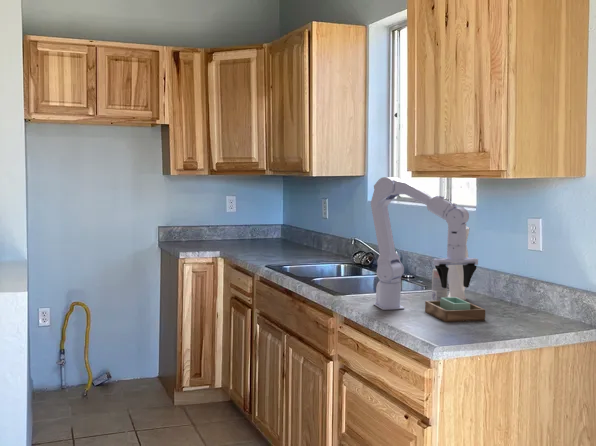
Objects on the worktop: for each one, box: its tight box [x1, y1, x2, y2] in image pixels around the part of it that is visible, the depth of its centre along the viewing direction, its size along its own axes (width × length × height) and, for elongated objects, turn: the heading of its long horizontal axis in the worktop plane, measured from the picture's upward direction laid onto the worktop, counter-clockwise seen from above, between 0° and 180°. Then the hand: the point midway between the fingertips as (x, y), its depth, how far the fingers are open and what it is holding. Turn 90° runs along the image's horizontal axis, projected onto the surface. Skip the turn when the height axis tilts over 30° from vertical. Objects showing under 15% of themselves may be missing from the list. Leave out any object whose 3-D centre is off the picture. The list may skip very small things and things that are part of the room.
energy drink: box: [430, 267, 449, 301], centre depth 241 cm, size 5×5×12 cm
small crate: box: [440, 296, 471, 310], centre depth 221 cm, size 10×6×4 cm, turn 13°
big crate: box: [424, 300, 486, 323], centre depth 221 cm, size 15×13×4 cm
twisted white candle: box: [447, 226, 470, 301], centre depth 249 cm, size 8×8×28 cm
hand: (455, 287), depth 220 cm, fingers open, 7 cm apart
